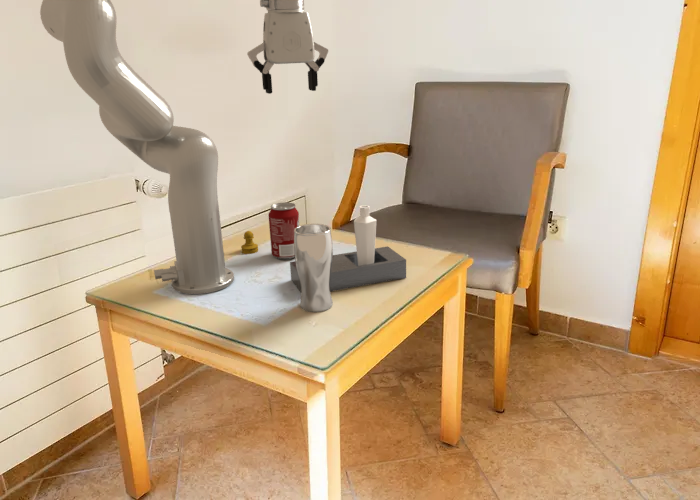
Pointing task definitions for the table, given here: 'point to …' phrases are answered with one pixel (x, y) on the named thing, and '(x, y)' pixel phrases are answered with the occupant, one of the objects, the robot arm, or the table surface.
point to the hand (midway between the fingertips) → (290, 91)
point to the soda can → (283, 229)
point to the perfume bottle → (365, 236)
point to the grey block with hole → (360, 270)
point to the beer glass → (314, 265)
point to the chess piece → (249, 244)
